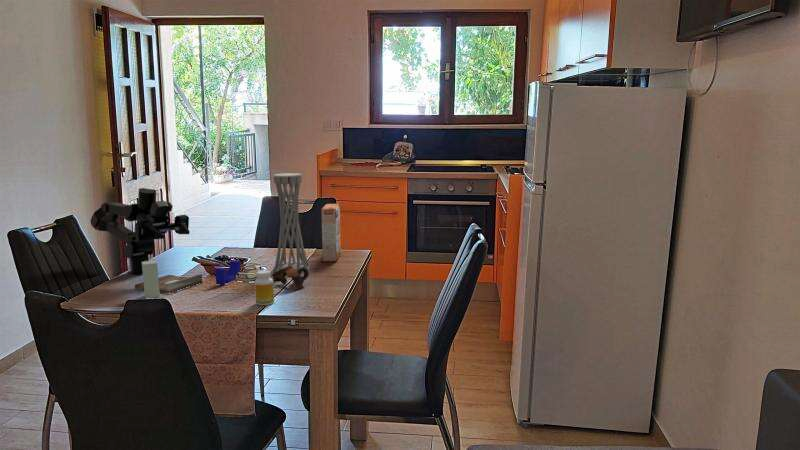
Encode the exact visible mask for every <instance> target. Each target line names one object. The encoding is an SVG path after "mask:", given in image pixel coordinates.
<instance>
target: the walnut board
mask: <svg viewBox="0 0 800 450" xmlns="http://www.w3.org/2000/svg"><path fill="white" fill-rule="evenodd" d="M158 280H159V292H160V293H161V294H165V293H171V294H173V293H172V292H174V293H176V292H175V291H177V290H180V289H183V288H186V287H189V286H193V285H196V284H199V283H202V284H203V274H202V273H198V274H194V275H192V276H188V277H185V276H179V275H174V274H166V275H163V276H160V277H159V276H158ZM199 285H200V284H199ZM196 286H197V285H196ZM193 287H194V286H193ZM134 288H135V289H136V290H143V291H144V283H143V281H142V282H139V283H135V284H134Z"/></svg>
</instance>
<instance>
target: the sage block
mask: <svg viewBox="0 0 800 450" xmlns="http://www.w3.org/2000/svg"><path fill="white" fill-rule="evenodd" d="M142 272H143V274H142V280H143V281H142V282H143V283H144V290H143V292H144V298H145V299H146V298H150V299H155V298H154V297H157V298H160V297H161V294H160V292H159V280H158V278H159V271H158V262H157V260H149V261H146V262H142ZM159 296H160V297H159Z"/></svg>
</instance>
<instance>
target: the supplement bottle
mask: <svg viewBox="0 0 800 450" xmlns="http://www.w3.org/2000/svg"><path fill="white" fill-rule="evenodd" d="M274 292H275V291H274V282H273V277H271V271H270V270H266V269H265V270H264V269H263V270H258V271H256V279H254V295H255V304H256V305H257V304H258V306H261V305H265V306H270V305H273V304H274V302H275V296H274V295H275V294H274Z"/></svg>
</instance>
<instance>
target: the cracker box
mask: <svg viewBox="0 0 800 450" xmlns="http://www.w3.org/2000/svg"><path fill="white" fill-rule="evenodd" d="M321 238H322V239H321V240H322V241H321V242H322V243H321V245H322V246H321V247H322V261H323V262H330V263H331V262H333V263H334V262H338V260H339V257H340V255H341V252H342V251H341V206H340V203H326V204H325V205H324V206H323V207H322V208H321Z"/></svg>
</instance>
